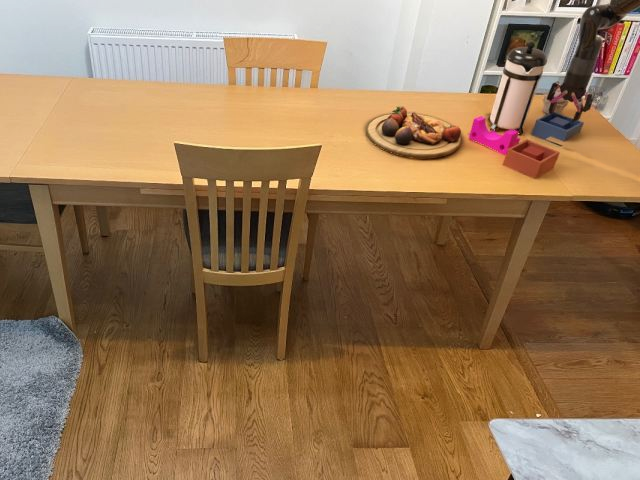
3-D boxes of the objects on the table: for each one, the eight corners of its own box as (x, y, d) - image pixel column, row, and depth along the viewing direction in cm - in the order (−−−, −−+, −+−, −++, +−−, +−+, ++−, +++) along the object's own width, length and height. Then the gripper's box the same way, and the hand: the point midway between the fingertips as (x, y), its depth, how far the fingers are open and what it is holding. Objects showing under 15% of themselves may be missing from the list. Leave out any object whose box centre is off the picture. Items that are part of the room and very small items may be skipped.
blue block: (565, 134, 207) (570, 121, 204) (558, 138, 205) (563, 125, 201) (551, 130, 210) (556, 116, 207) (544, 133, 208) (549, 120, 204)
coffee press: (537, 131, 210) (568, 45, 191) (505, 139, 205) (533, 52, 185) (502, 112, 222) (527, 30, 203) (470, 120, 216) (493, 35, 197)
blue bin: (578, 137, 207) (584, 122, 204) (561, 146, 202) (567, 131, 198) (547, 125, 214) (553, 111, 210) (530, 134, 208) (536, 119, 205)
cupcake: (539, 115, 221) (548, 89, 214) (537, 106, 227) (546, 80, 221) (565, 119, 219) (575, 93, 212) (563, 109, 226) (572, 83, 219)
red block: (539, 165, 190) (545, 151, 186) (531, 170, 187) (536, 155, 184) (525, 159, 193) (530, 145, 189) (517, 164, 190) (522, 150, 187)
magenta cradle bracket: (516, 150, 198) (523, 130, 194) (505, 155, 196) (512, 134, 191) (479, 134, 207) (485, 114, 203) (468, 139, 204) (474, 118, 200)
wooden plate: (475, 136, 206) (481, 114, 200) (434, 170, 187) (440, 146, 181) (394, 111, 221) (398, 89, 216) (349, 140, 202) (352, 117, 197)
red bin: (553, 167, 190) (559, 152, 186) (535, 179, 184) (541, 163, 180) (521, 154, 197) (526, 139, 193) (502, 164, 191) (507, 149, 187)
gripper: (554, 66, 194) (538, 113, 205) (596, 79, 186) (577, 127, 197) (565, 61, 198) (549, 108, 209) (607, 74, 190) (587, 121, 200)
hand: (562, 117), depth 203 cm, fingers open, 8 cm apart
